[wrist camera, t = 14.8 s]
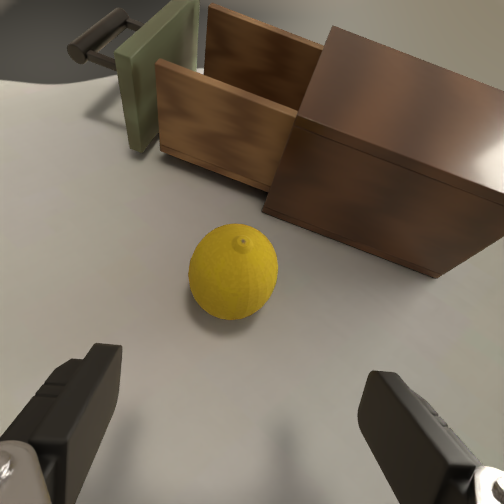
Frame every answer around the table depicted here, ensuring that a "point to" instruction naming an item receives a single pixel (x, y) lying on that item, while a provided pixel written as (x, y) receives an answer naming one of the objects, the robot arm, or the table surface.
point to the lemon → (233, 271)
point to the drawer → (207, 86)
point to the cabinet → (394, 157)
